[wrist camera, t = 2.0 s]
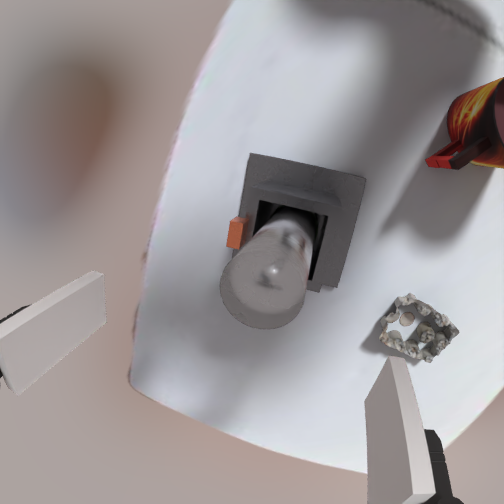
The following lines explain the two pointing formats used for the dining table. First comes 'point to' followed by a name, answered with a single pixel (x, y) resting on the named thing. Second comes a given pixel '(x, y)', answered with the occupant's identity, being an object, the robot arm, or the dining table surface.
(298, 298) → the column
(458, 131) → the mug
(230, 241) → the stand
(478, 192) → the dining table surface
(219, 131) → the dining table surface
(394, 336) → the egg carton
